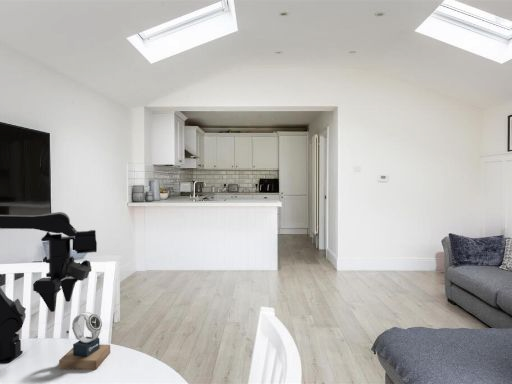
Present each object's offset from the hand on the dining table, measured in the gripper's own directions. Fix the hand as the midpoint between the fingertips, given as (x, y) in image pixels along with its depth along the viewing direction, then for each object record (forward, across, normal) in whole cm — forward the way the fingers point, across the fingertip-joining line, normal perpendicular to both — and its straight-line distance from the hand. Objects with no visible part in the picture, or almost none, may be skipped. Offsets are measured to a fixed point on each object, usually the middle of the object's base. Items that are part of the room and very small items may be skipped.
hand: (60, 306), depth 118 cm
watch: (+11, -7, -11) cm, 17 cm away
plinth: (+13, -8, -11) cm, 18 cm away
